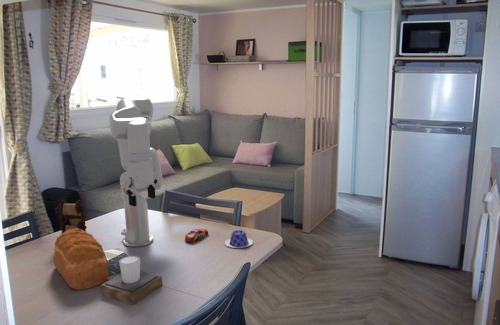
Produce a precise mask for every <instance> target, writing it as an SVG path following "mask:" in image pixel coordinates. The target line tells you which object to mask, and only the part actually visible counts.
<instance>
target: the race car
mask: <svg viewBox="0 0 500 325" xmlns="http://www.w3.org/2000/svg"><path fill="white" fill-rule="evenodd" d="M208 235H209V231H208V229H205V228H198V229H197V228H196V229H192V230H190V231H188V233H187V234H186V235H185V237H184V242H188V243H197V242H198V241H199V240H201V239H203V238H204V237H206V236H208Z"/></svg>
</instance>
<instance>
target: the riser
mask: <svg viewBox="0 0 500 325" xmlns="http://www.w3.org/2000/svg"><path fill="white" fill-rule="evenodd" d="M162 277H163V276H162V275H158V274H154V273H152V272H148V271H144V270H141V269H140V279H139V280H138V281H137V282H134V283H124V282H123V280H122V275H121V273H120V274H117V275H116V276H114V277H113V278H111V279H109V280H106V281H105V282H104V283H102V284H100V290H101V296H103V297H104V296H105V297H108V298H110V299H115V300H118V301H121V302H123V303H126V304H129V305H132V306H134V305H136V304H137V303H139V302H140V301H141V300H143V299H145V298H146V297H148V296H149V295H150V294H152V293H154V292H156V290H158V289H159V288H161V287H163V278H162Z"/></svg>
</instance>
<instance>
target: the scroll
mask: <svg viewBox="0 0 500 325" xmlns="http://www.w3.org/2000/svg"><path fill="white" fill-rule="evenodd" d="M57 208H58V211H59V213H58V214H59V215H58V219H59V221H60V222H59V223H60V225H59V227H60V229H61V230H60V231H61V234H62V233H64V232H65V231H66V230H69V229H74V228H79V229H81V230H83V231H86V232H87V226H86V218H87V216H86V215H85V214H86V213H85V205H84V204H83V202H82V200H80V199H78V200H76V201H75V203H68V201H67V200H66V199H63V200H61V201H60V203H59V204H58V205H57ZM64 219H65V220H64ZM68 220H69V221H68ZM61 234H60V235H61ZM89 234H90V235H91V236H92V237H93V238H94V236H93V235H92V234H91V233H89Z"/></svg>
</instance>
